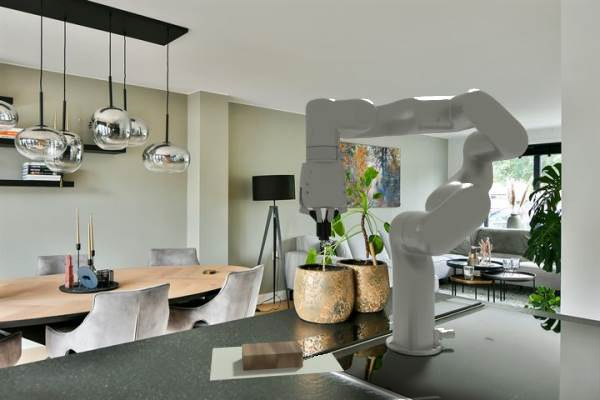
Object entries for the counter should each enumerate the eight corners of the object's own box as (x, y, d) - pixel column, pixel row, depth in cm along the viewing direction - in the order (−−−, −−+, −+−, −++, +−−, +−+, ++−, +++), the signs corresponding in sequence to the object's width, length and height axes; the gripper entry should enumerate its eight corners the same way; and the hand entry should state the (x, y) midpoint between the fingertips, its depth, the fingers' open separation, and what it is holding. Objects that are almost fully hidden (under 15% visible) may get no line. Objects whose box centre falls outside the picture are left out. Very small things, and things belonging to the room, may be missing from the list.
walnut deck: (297, 341, 95) (242, 344, 93) (302, 352, 88) (243, 355, 86) (297, 354, 95) (242, 358, 93) (302, 366, 88) (243, 370, 86)
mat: (323, 343, 103) (323, 341, 103) (344, 373, 86) (344, 370, 86) (212, 350, 99) (212, 348, 99) (209, 382, 81) (209, 380, 81)
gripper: (349, 158, 100) (350, 238, 100) (286, 157, 97) (287, 239, 97) (361, 155, 93) (362, 241, 93) (293, 154, 90) (293, 243, 90)
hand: (323, 240), depth 95 cm, fingers closed
